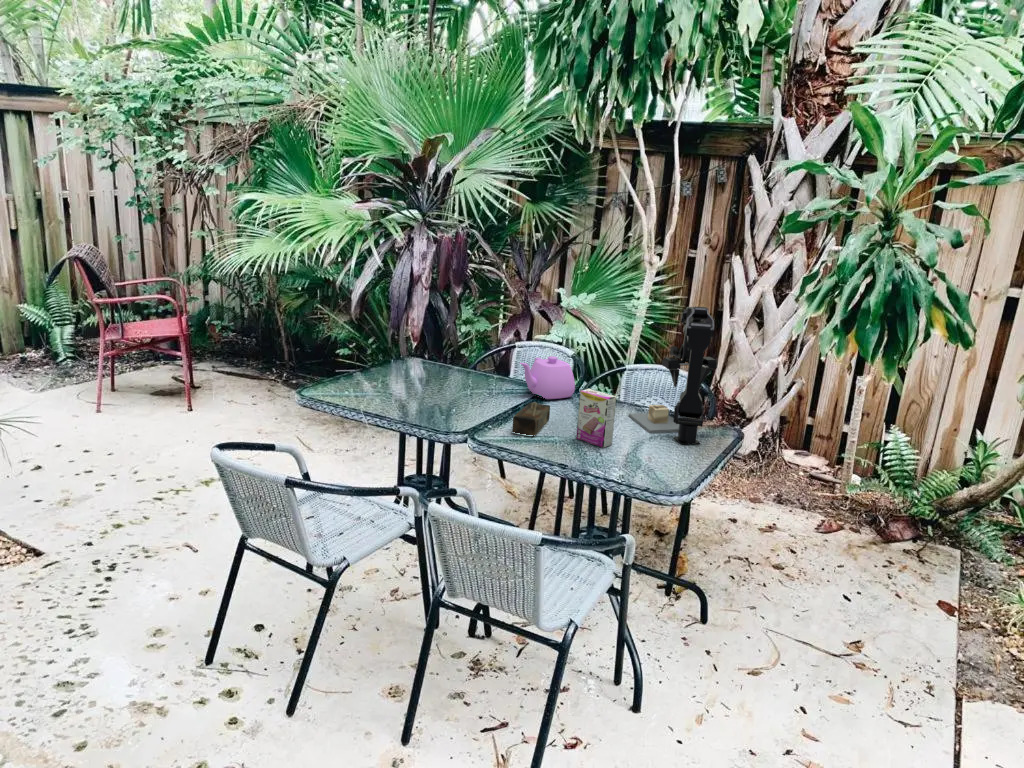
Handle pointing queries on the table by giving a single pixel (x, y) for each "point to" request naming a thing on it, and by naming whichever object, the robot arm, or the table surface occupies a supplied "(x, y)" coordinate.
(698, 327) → the robot arm
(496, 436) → the table surface
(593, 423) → the candy bar box
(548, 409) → the beverage carton
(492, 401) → the table surface
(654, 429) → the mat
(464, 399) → the table surface
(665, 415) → the lettered cube
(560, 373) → the teapot
